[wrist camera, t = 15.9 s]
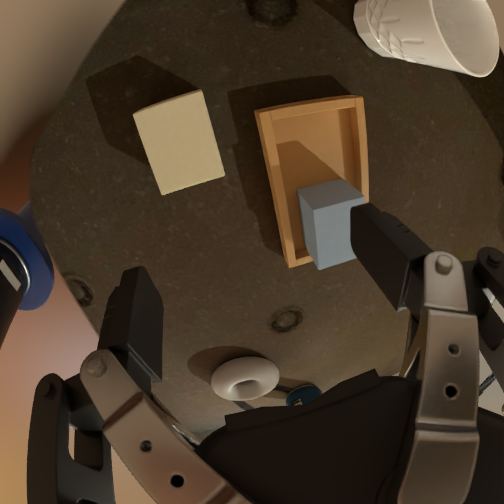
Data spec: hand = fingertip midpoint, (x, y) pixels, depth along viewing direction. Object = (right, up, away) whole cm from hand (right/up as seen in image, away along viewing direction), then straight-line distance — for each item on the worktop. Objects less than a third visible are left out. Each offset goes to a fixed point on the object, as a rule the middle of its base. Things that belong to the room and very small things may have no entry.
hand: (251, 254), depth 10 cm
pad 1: (-5, +9, +9) cm, 14 cm away
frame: (+6, +6, +14) cm, 16 cm away
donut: (-1, -17, +29) cm, 34 cm away
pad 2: (+7, +4, +15) cm, 17 cm away
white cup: (+11, +20, +6) cm, 24 cm away
